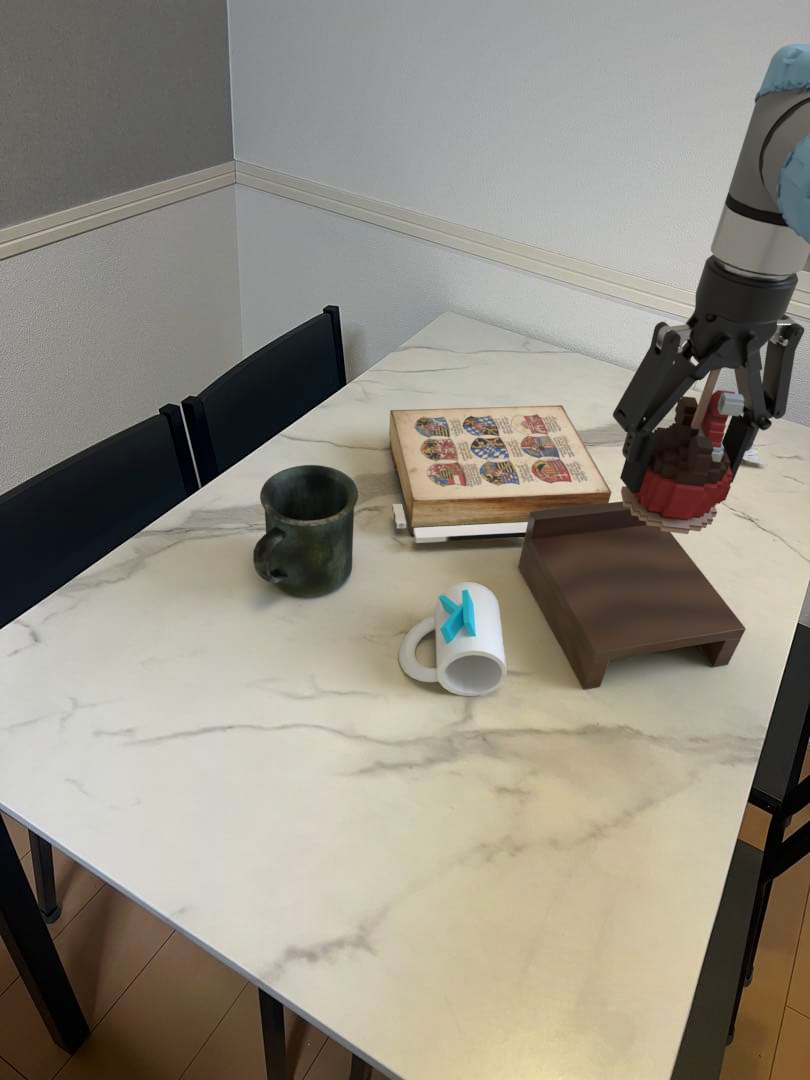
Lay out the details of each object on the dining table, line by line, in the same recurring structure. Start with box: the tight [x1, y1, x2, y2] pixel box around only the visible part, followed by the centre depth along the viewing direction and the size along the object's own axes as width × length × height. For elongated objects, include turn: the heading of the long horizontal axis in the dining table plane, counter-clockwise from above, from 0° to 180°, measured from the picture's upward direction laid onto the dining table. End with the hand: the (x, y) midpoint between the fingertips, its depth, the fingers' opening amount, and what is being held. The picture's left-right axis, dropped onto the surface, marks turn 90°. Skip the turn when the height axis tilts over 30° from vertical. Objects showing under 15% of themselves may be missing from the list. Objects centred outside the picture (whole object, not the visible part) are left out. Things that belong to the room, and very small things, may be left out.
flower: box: [742, 445, 769, 466], centre depth 124 cm, size 8×8×3 cm
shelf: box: [518, 500, 747, 690], centre depth 93 cm, size 20×18×9 cm
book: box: [388, 404, 612, 544], centre depth 111 cm, size 25×6×28 cm
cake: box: [620, 368, 744, 535], centre depth 77 cm, size 11×9×18 cm
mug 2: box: [398, 581, 508, 697], centre depth 87 cm, size 12×9×12 cm
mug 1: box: [252, 464, 359, 598], centre depth 93 cm, size 11×15×12 cm
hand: (676, 480), depth 81 cm, fingers closed on cake, 10 cm apart
